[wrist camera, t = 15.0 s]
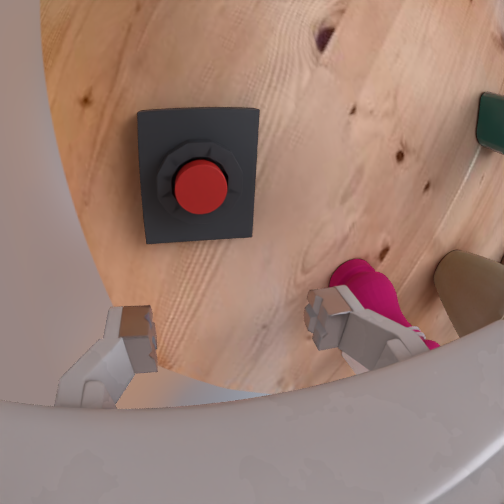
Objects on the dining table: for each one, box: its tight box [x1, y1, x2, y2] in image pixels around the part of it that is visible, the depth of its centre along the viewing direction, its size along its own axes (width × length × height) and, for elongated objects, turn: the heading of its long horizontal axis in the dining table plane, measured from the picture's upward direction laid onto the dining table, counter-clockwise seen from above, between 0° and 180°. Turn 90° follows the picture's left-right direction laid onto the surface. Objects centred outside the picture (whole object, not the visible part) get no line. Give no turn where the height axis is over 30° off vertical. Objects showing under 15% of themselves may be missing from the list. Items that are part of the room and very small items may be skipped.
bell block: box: [137, 107, 260, 244], centre depth 25 cm, size 12×10×4 cm
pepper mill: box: [329, 259, 440, 350], centre depth 30 cm, size 7×7×20 cm
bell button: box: [175, 160, 227, 214], centre depth 23 cm, size 4×4×2 cm
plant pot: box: [434, 250, 504, 338], centre depth 37 cm, size 15×15×16 cm
